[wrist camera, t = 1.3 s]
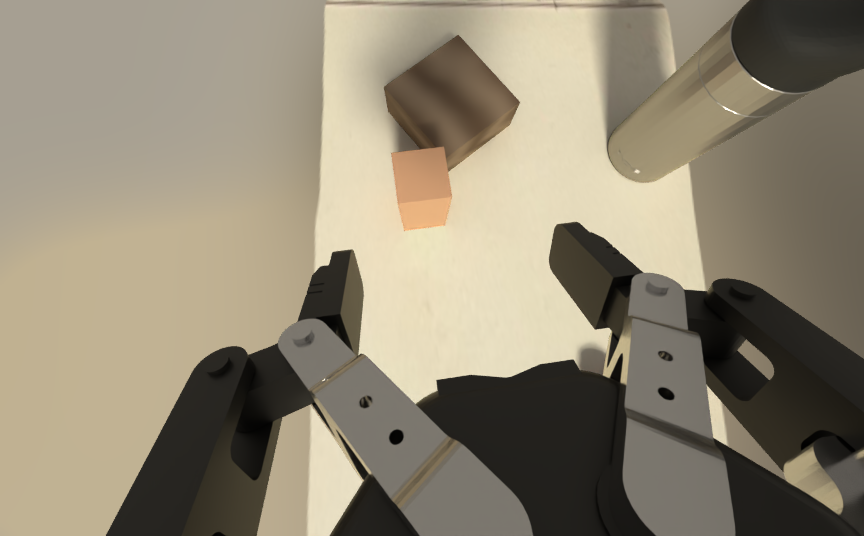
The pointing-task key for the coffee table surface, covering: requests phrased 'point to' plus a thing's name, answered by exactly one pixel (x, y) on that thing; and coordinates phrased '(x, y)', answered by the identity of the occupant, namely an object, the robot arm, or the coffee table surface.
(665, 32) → the coffee table surface
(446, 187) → the peach block
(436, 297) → the coffee table surface
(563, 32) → the coffee table surface
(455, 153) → the walnut block
